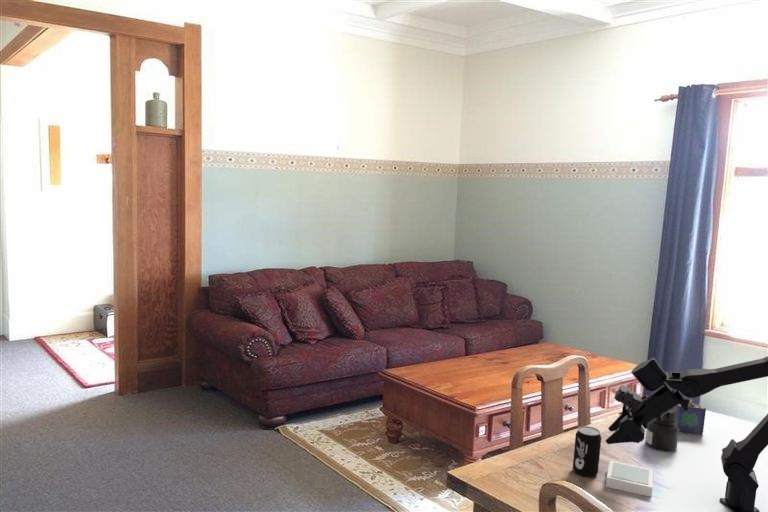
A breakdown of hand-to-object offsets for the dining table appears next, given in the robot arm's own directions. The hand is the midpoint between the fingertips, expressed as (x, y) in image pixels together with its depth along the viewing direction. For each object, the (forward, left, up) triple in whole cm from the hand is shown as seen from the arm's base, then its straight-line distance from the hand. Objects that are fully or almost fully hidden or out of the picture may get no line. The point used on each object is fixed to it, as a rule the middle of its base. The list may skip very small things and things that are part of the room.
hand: (608, 435), depth 169 cm
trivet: (-3, -5, -11) cm, 13 cm away
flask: (+29, -42, -12) cm, 52 cm away
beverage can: (+3, +4, -12) cm, 13 cm away
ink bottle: (+19, -27, -12) cm, 35 cm away
